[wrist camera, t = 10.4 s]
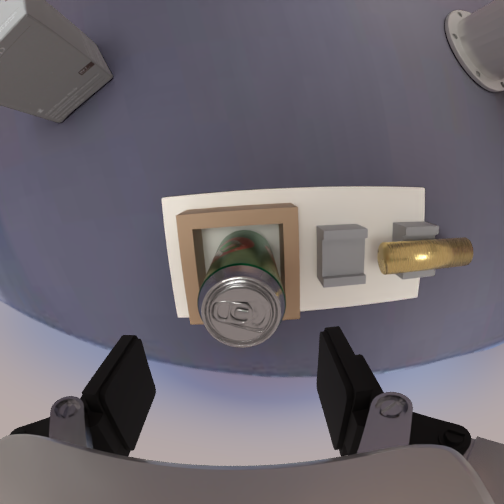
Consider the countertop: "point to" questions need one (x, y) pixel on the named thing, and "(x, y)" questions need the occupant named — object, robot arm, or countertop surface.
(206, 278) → the soda can
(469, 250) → the pin
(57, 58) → the skincare box
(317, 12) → the countertop surface
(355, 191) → the dock
